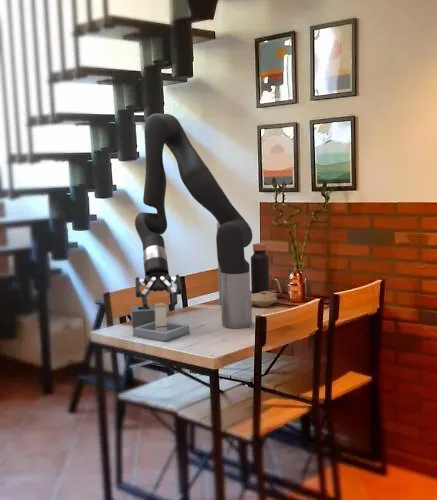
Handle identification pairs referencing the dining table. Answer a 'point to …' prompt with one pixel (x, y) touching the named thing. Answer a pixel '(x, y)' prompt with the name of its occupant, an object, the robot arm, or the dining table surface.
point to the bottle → (259, 269)
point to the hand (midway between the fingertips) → (160, 305)
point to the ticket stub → (160, 317)
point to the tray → (151, 333)
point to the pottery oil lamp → (263, 298)
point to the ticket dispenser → (142, 315)
